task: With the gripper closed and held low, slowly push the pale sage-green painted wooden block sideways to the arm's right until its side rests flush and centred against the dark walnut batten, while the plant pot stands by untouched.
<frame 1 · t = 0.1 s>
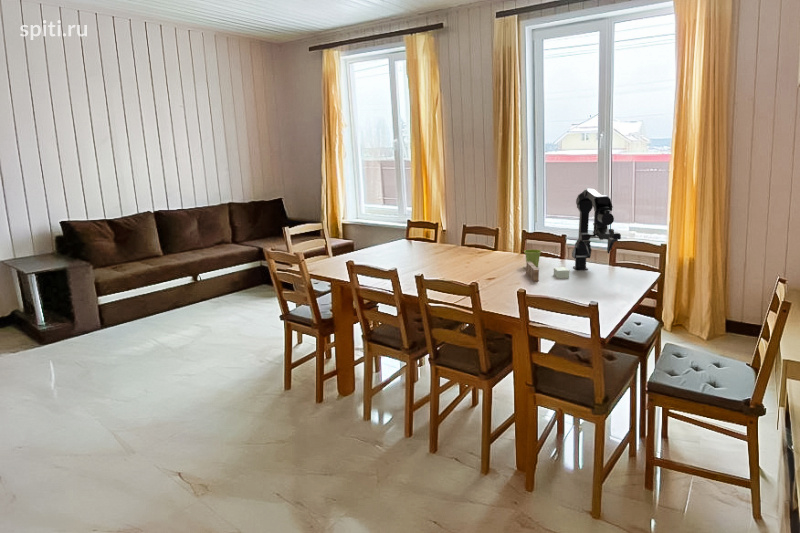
hand: (598, 253, 278), 15 cm above the table, fingers open, 9 cm apart
walnut batten: (532, 276, 296), on the table
plant pot: (532, 266, 318), on the table
sage block: (561, 276, 296), on the table
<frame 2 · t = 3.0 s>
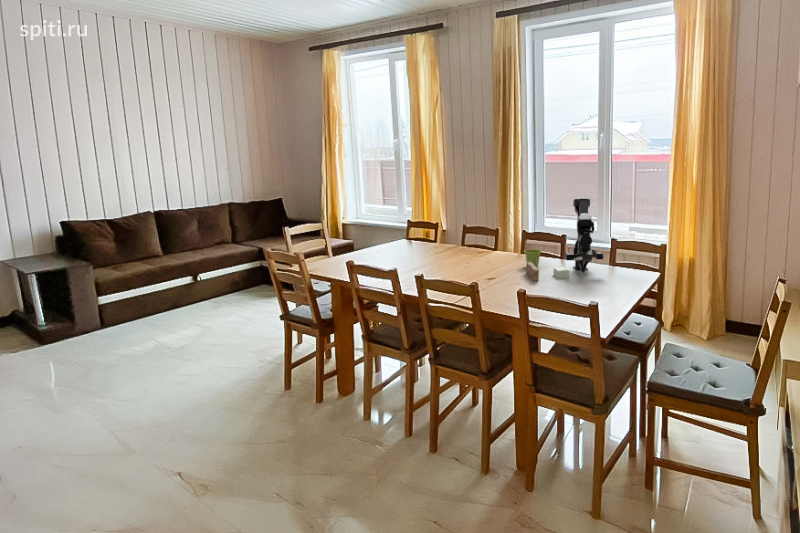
hand: (582, 272, 295), 2 cm above the table, fingers closed
nothing on the table moved.
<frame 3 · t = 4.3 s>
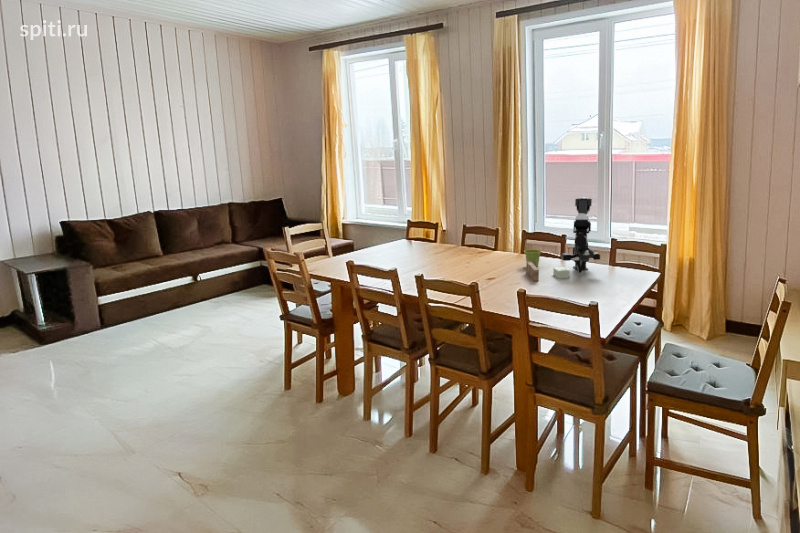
hand: (579, 272, 295), 2 cm above the table, fingers closed
nothing on the table moved.
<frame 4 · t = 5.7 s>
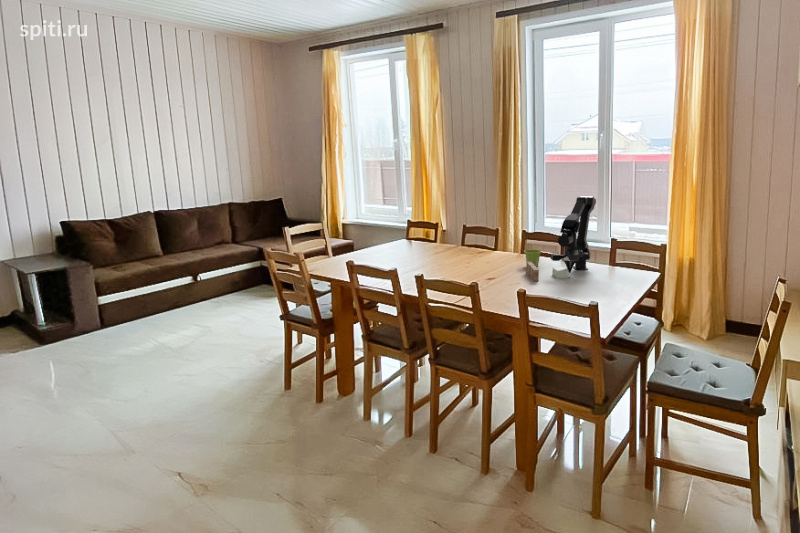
hand: (569, 272, 295), 2 cm above the table, fingers closed
sage block: (560, 276, 296), on the table, touching gripper
everything else where it was.
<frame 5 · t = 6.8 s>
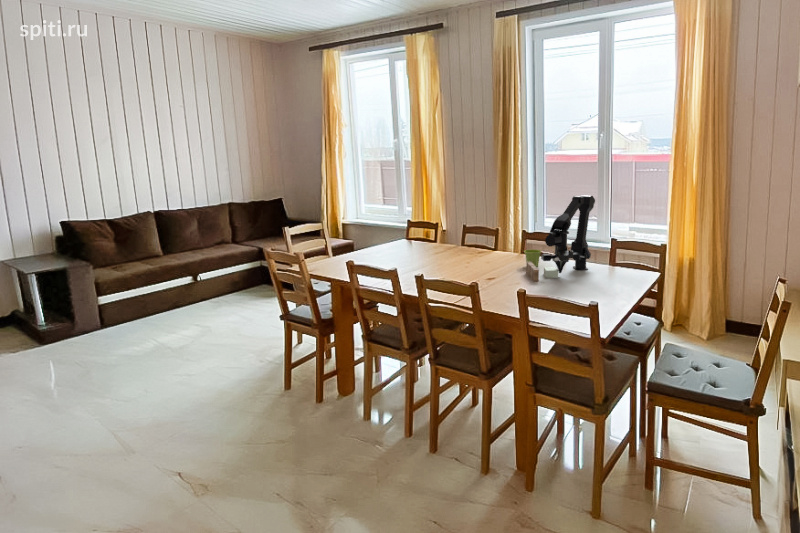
hand: (560, 273, 295), 2 cm above the table, fingers closed
sage block: (550, 276, 297), on the table, touching gripper
everything else where it was.
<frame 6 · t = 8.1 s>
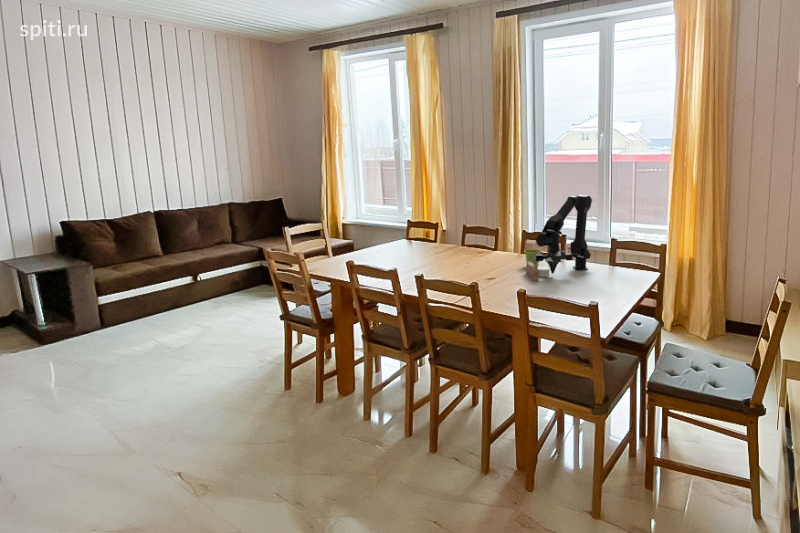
hand: (552, 273, 295), 2 cm above the table, fingers closed
sage block: (543, 275, 299), on the table
everything else where it was.
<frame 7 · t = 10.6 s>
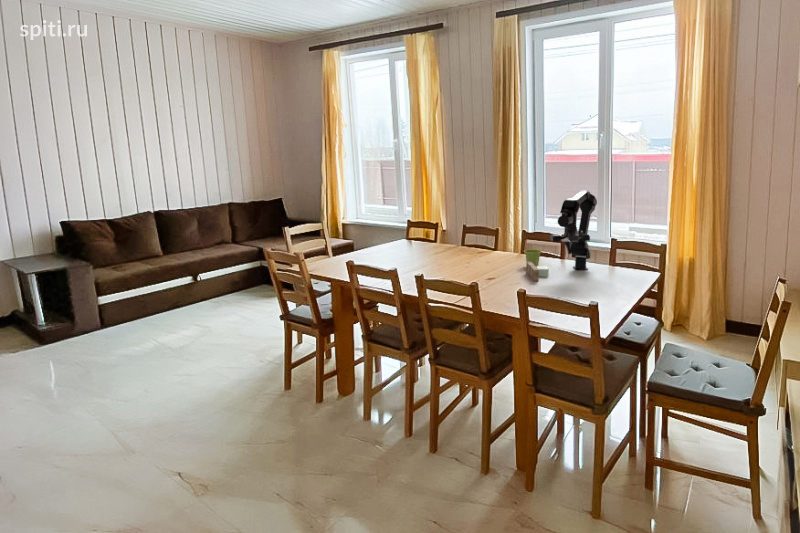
hand: (569, 254, 293), 12 cm above the table, fingers closed
nothing on the table moved.
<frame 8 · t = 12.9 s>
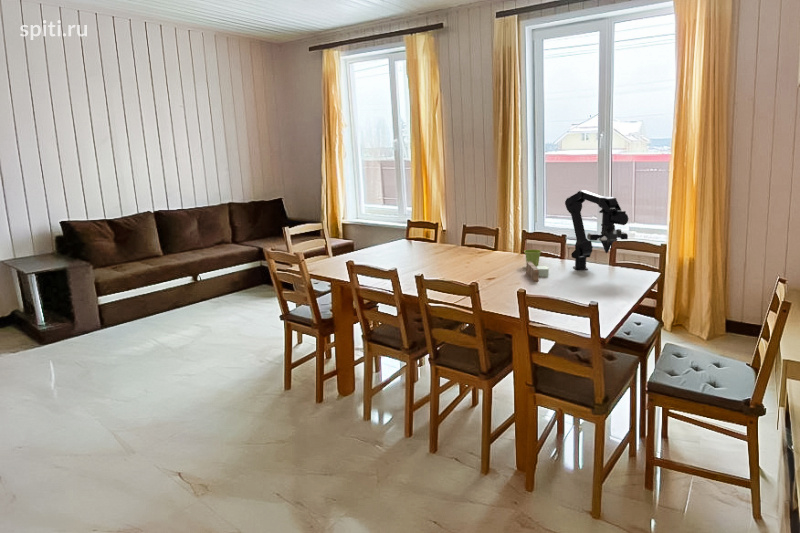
hand: (606, 252, 290), 12 cm above the table, fingers closed
nothing on the table moved.
at the end: sage block inside the target area on the table beside the walnut batten (4.5 cm from its centre), on the table; sage block tilted 0° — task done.
